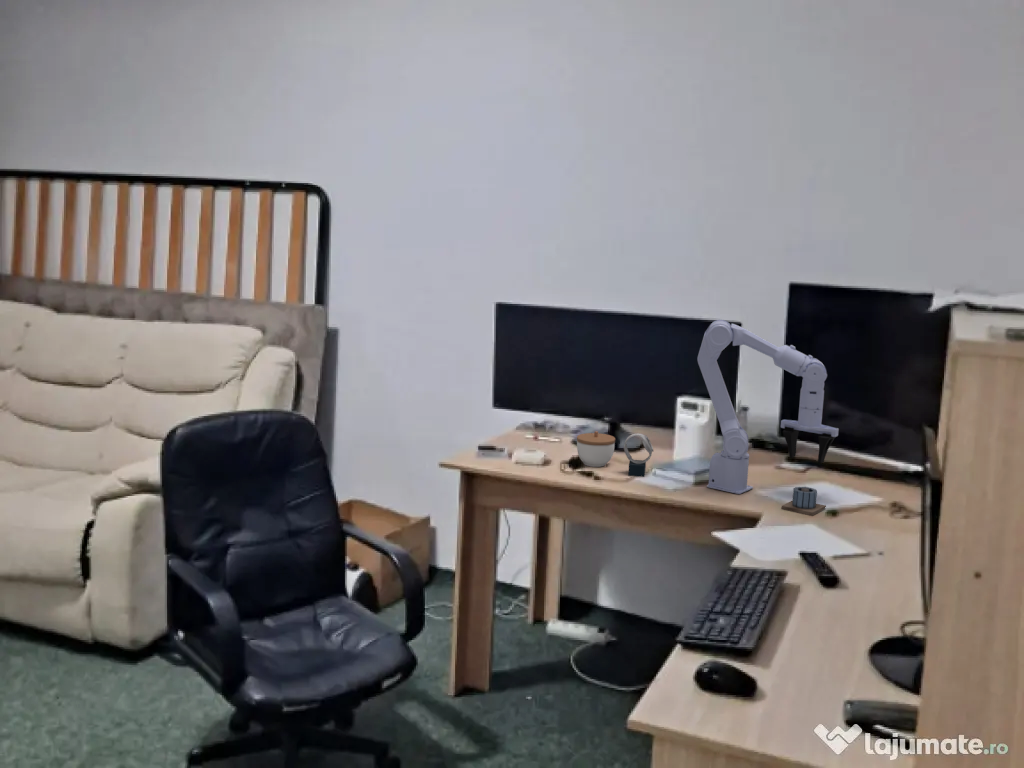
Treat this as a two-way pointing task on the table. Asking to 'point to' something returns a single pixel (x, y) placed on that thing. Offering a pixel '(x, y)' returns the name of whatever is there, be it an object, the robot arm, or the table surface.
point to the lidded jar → (595, 448)
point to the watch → (638, 465)
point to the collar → (804, 498)
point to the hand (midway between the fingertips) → (806, 459)
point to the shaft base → (804, 511)
